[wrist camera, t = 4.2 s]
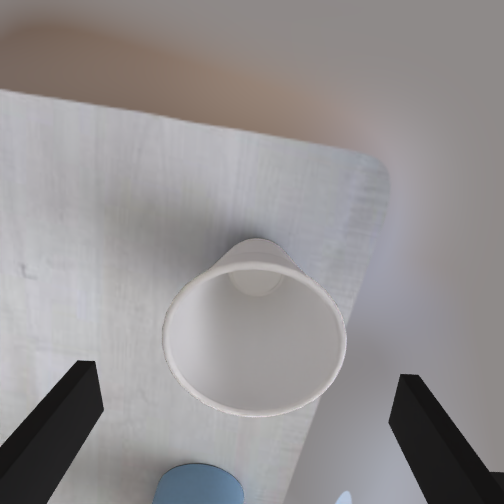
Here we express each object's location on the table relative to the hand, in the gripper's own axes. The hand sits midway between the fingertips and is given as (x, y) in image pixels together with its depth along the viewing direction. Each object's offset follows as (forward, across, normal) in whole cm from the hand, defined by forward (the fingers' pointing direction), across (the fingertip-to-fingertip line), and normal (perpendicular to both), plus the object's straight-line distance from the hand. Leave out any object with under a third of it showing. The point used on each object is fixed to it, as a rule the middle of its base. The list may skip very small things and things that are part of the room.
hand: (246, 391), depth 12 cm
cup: (+14, 0, 0) cm, 14 cm away
